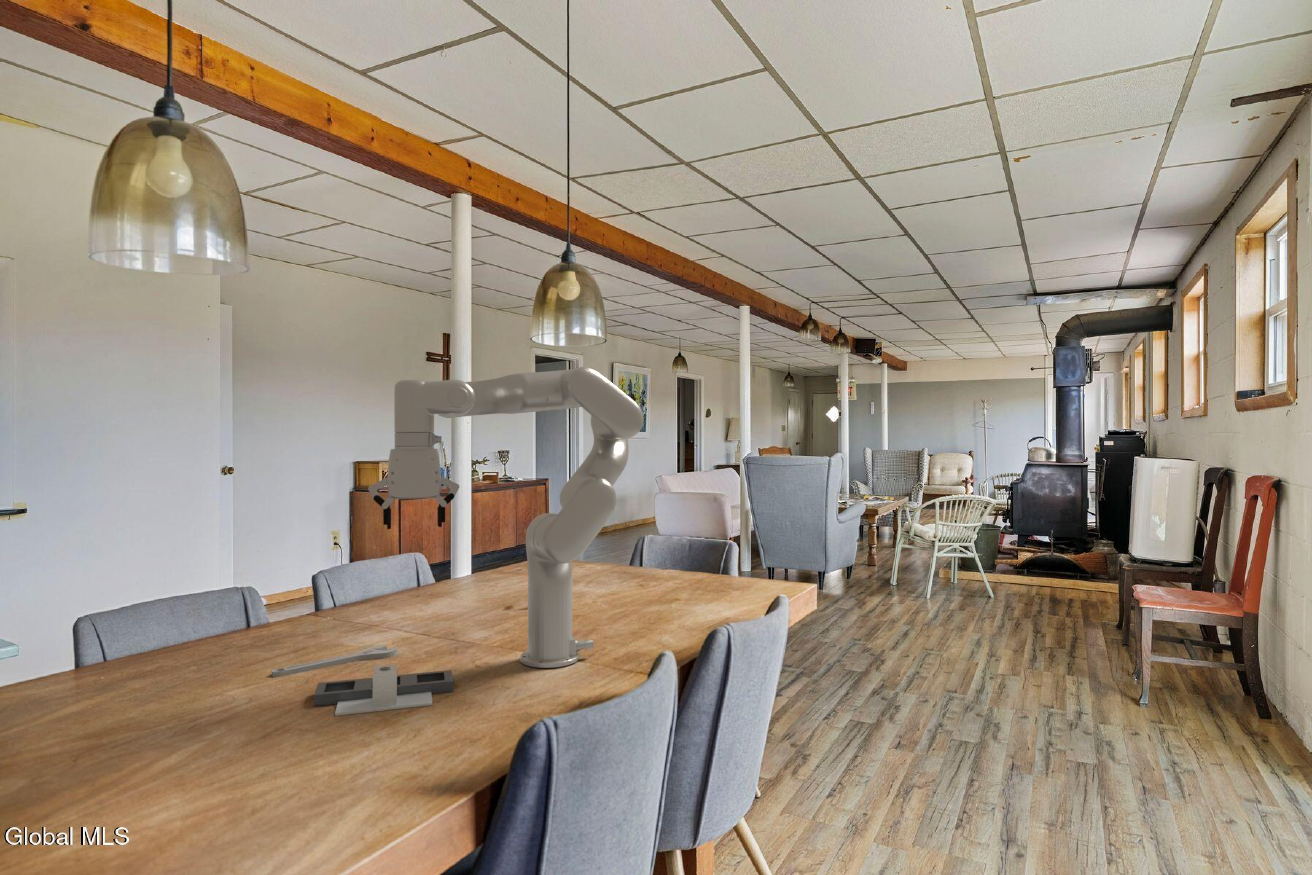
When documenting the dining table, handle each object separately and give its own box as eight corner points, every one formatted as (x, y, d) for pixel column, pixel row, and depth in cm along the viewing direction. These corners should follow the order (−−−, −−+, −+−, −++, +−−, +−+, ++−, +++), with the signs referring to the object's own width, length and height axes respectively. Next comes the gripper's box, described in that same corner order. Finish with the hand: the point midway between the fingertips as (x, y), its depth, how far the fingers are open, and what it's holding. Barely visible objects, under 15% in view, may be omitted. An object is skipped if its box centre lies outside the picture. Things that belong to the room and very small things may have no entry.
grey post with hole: (396, 697, 132) (397, 663, 132) (396, 704, 128) (396, 670, 128) (373, 699, 131) (373, 665, 131) (372, 707, 127) (372, 672, 127)
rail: (451, 679, 143) (451, 669, 143) (453, 691, 136) (453, 680, 136) (318, 693, 135) (318, 682, 135) (313, 706, 128) (313, 695, 128)
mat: (431, 693, 135) (431, 691, 135) (432, 704, 129) (432, 702, 129) (338, 703, 130) (338, 701, 130) (334, 715, 124) (334, 713, 124)
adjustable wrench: (273, 680, 144) (273, 672, 144) (267, 672, 149) (267, 664, 149) (399, 657, 159) (399, 649, 159) (390, 650, 164) (390, 642, 164)
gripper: (457, 441, 151) (457, 523, 151) (368, 442, 145) (368, 527, 145) (460, 441, 144) (460, 527, 144) (367, 442, 138) (367, 531, 138)
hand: (414, 527), depth 144 cm, fingers open, 9 cm apart
